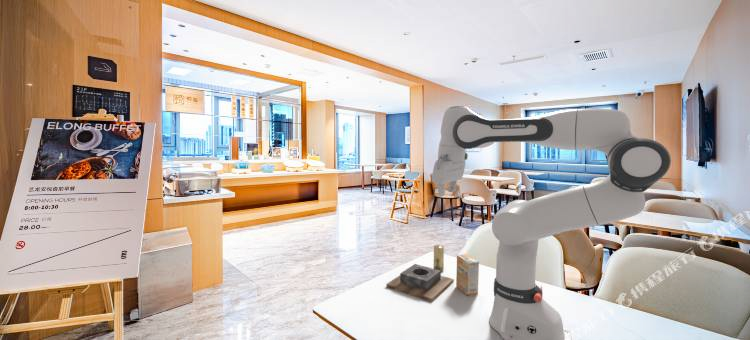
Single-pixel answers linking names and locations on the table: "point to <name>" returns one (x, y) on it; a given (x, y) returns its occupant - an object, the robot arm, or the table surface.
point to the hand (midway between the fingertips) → (446, 193)
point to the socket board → (421, 292)
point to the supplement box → (467, 274)
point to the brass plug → (439, 257)
